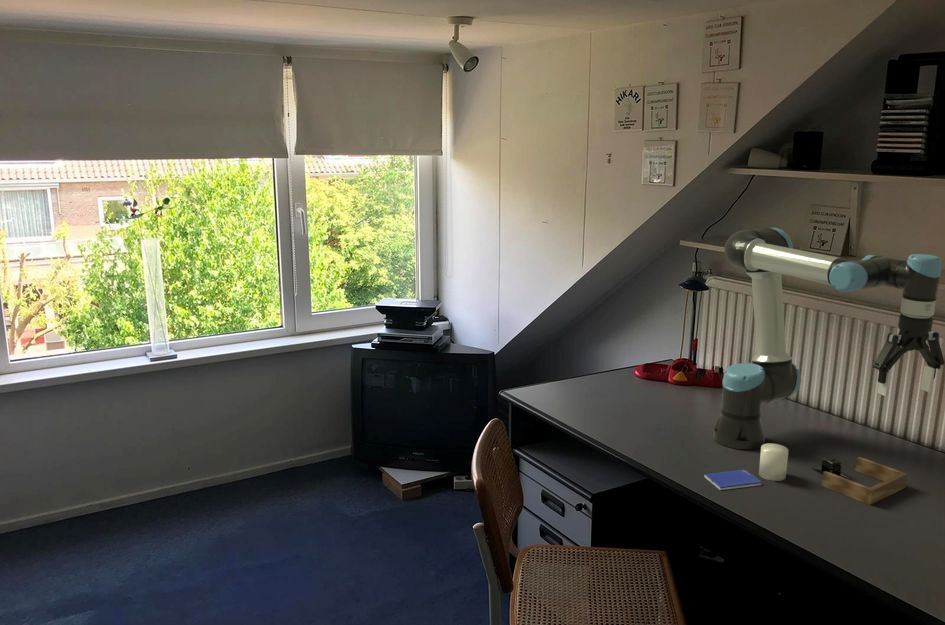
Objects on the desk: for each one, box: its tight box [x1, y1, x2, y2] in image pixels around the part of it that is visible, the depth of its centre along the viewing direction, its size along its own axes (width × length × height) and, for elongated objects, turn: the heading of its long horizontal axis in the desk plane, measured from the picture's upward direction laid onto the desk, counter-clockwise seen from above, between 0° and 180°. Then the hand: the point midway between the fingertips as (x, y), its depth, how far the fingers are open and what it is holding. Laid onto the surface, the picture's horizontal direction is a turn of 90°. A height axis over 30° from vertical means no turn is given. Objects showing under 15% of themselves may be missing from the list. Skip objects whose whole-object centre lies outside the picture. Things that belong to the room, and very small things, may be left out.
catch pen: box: [821, 456, 908, 506], centre depth 201 cm, size 13×17×4 cm
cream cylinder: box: [758, 443, 789, 482], centre depth 208 cm, size 7×7×8 cm
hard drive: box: [703, 469, 762, 491], centre depth 205 cm, size 2×8×12 cm
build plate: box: [811, 456, 853, 481], centre depth 209 cm, size 12×7×5 cm, turn 17°
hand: (904, 392), depth 198 cm, fingers open, 13 cm apart
